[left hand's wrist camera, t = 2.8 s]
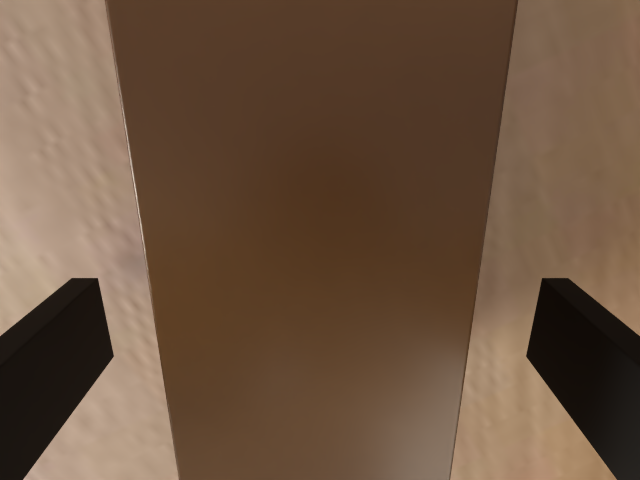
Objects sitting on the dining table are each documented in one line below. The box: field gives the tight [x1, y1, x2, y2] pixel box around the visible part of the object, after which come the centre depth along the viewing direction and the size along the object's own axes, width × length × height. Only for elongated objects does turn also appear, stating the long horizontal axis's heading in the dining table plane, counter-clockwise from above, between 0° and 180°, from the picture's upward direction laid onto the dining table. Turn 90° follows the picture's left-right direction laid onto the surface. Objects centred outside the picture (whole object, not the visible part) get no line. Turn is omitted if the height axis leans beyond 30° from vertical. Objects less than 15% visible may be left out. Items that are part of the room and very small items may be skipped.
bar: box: [105, 0, 518, 480], centre depth 10 cm, size 21×5×9 cm, turn 0°
